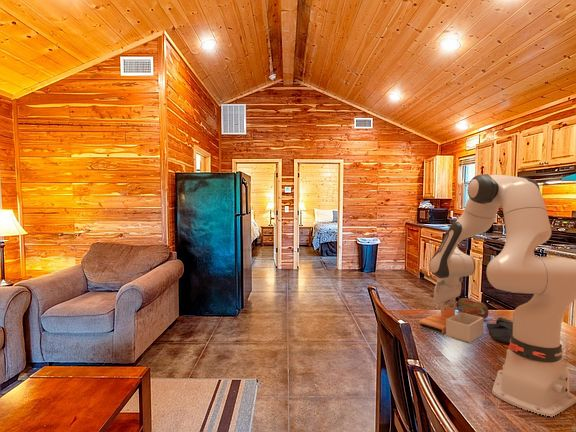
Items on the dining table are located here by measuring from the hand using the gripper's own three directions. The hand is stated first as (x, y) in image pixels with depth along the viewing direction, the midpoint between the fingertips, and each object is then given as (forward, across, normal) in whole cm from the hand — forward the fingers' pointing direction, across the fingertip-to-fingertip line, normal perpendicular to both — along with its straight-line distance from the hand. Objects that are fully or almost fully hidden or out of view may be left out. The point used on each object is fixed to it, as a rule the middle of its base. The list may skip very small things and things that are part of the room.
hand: (447, 308), depth 146 cm
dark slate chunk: (+7, +4, -23) cm, 24 cm away
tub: (+6, -9, -12) cm, 16 cm away
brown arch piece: (+7, +17, -4) cm, 18 cm away
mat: (+6, -8, 0) cm, 10 cm away
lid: (+6, -8, 0) cm, 10 cm away
